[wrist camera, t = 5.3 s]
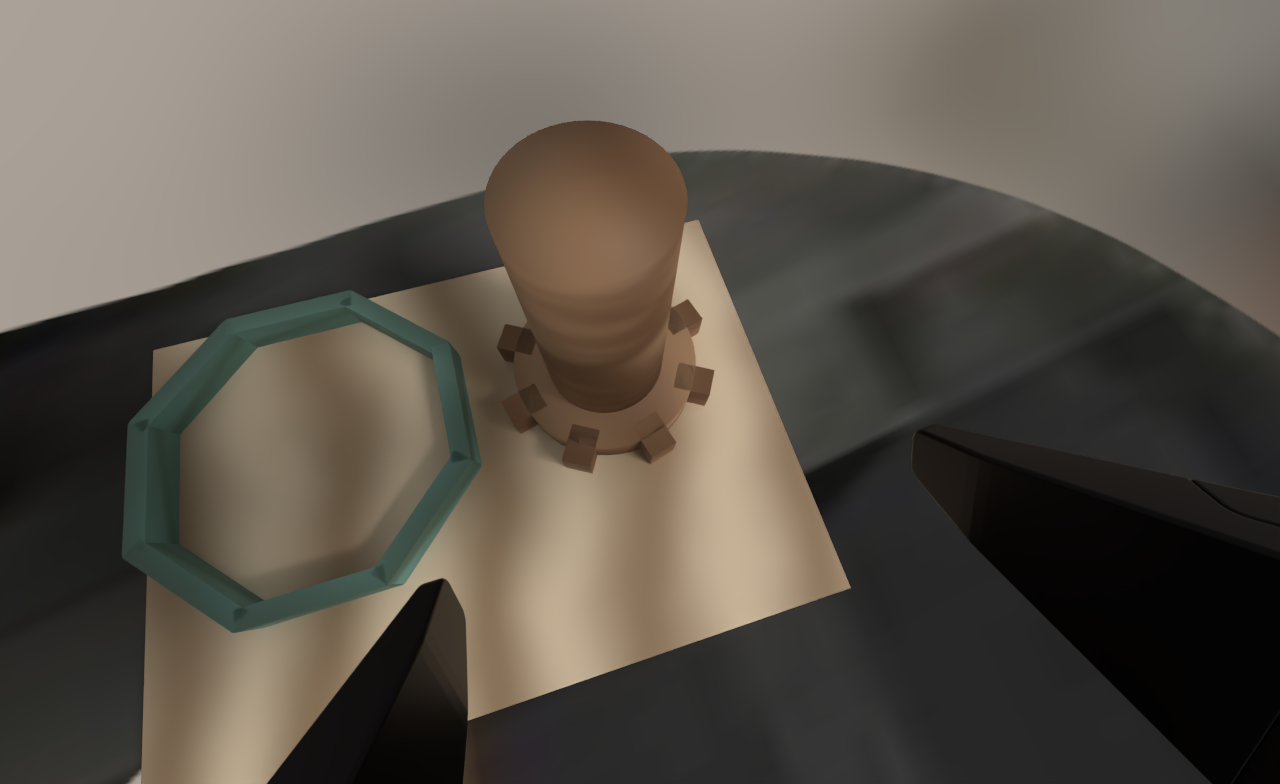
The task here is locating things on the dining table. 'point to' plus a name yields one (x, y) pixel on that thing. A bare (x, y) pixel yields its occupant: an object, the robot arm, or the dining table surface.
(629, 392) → the gear
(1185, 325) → the dining table surface
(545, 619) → the gear board
